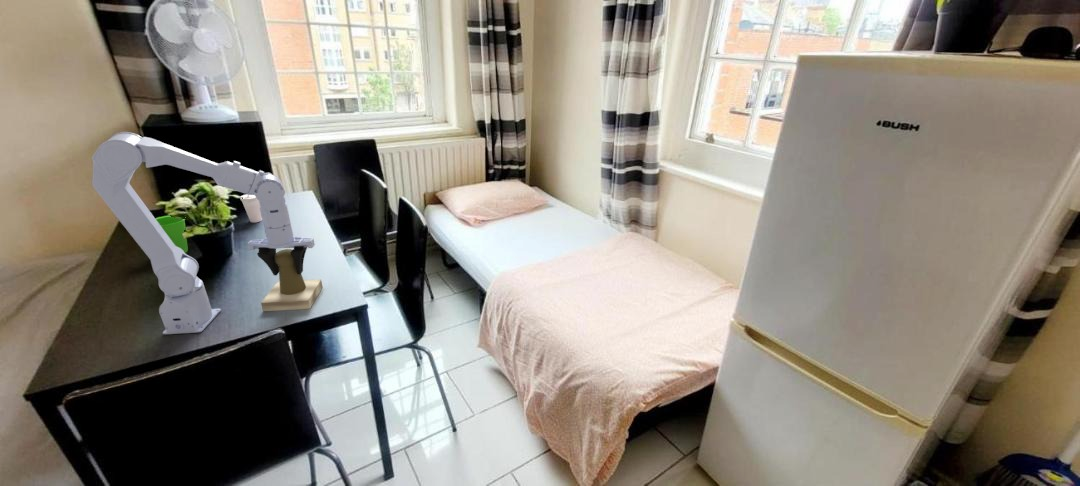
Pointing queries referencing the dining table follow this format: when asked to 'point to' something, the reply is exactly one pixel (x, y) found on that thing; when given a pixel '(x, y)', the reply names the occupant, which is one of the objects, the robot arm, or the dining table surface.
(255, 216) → the smoothie
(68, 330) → the dining table surface
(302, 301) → the birch riser block
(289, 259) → the cork
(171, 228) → the cup
